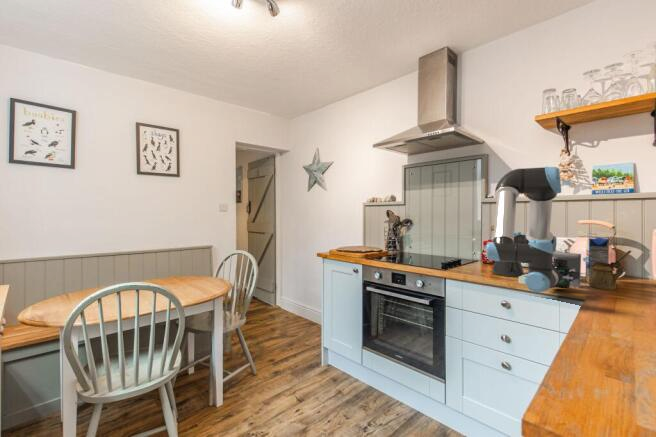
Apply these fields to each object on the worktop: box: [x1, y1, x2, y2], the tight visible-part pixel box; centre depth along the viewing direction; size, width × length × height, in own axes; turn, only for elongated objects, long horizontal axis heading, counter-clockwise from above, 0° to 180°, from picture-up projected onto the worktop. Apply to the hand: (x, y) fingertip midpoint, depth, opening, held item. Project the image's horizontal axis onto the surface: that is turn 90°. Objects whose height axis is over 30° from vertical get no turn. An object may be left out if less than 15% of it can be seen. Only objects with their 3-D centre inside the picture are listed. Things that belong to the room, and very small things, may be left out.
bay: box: [552, 251, 582, 289], centre depth 137 cm, size 10×11×16 cm
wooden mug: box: [588, 250, 632, 291], centre depth 136 cm, size 9×14×18 cm, turn 45°
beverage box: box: [585, 236, 610, 285], centre depth 147 cm, size 7×11×22 cm, turn 145°
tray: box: [518, 273, 528, 285], centre depth 145 cm, size 11×11×3 cm
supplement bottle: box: [552, 258, 571, 289], centre depth 133 cm, size 7×7×12 cm
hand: (563, 270), depth 136 cm, fingers closed on supplement bottle, 7 cm apart
